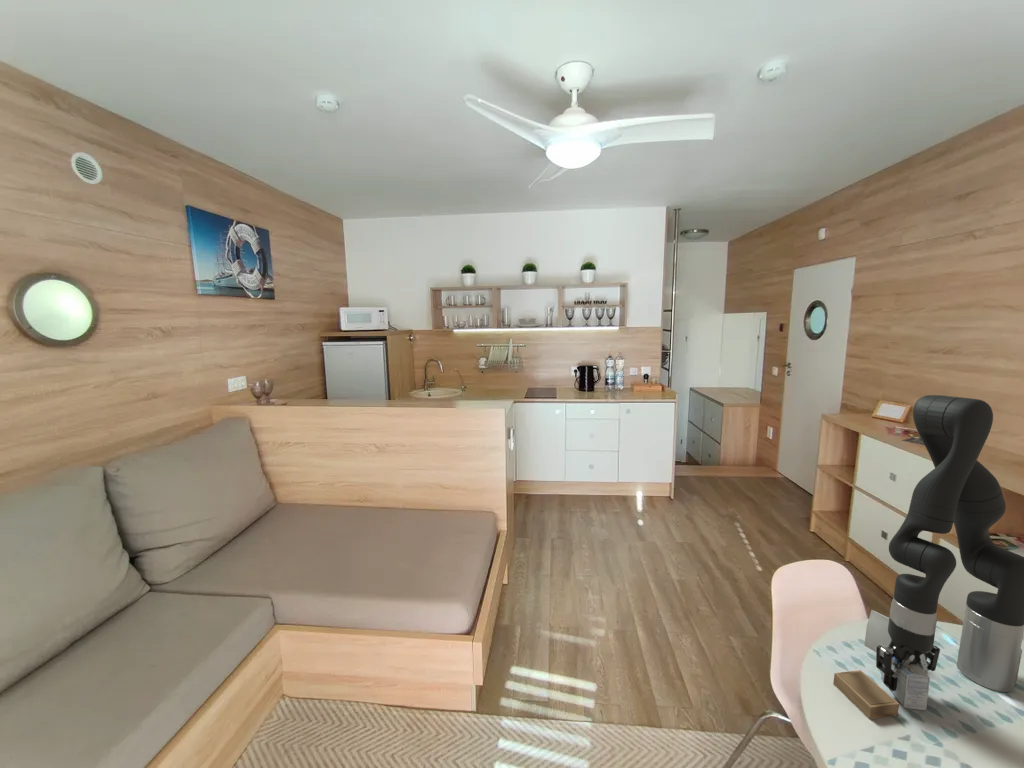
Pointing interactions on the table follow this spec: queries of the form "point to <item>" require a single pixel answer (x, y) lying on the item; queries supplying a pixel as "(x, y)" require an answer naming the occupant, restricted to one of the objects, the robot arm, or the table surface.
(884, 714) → the brown flat rectangular block
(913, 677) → the medicine box
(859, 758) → the table surface
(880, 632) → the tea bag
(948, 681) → the table surface
